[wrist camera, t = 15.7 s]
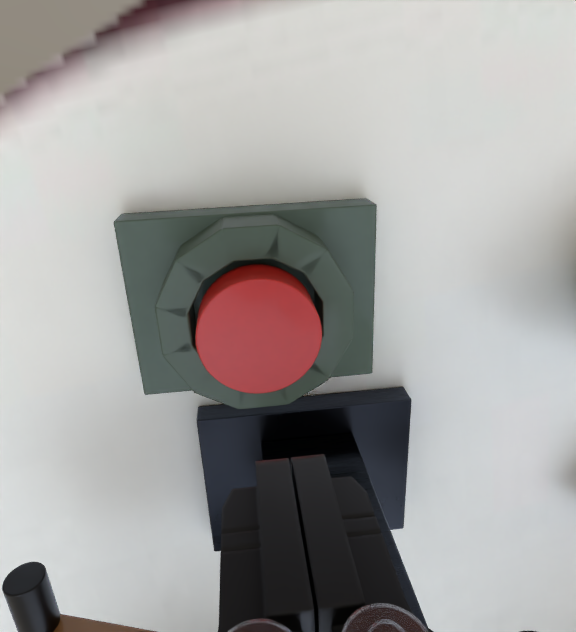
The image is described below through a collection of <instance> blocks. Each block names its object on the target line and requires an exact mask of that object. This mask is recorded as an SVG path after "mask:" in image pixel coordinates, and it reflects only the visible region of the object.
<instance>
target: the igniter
mask: <svg viewBox="0 0 576 632" xmlns="http://www.w3.org/2000/svg"><path fill="white" fill-rule="evenodd" d="M376 207H377V206H376V204H374V203H373V202H371V201H370V200H368V199H350V200H334V201H318V202H302V203H286V204H271V205H255V206H239V207H223V208H207V209H191V210H175V211H160V212H144V213H128V214H121V215H120V216H119V217H118V218H117V219H116V220H115V221H114V227H115V232H116V238H117V243H118V249H119V254H120V260H121V266H122V271H123V277H124V282H125V288H126V294H127V299H128V305H129V310H130V316H131V321H132V327H133V333H134V338H135V344H136V349H137V355H138V360H139V366H140V372H141V377H142V383H143V388H144V394H145V395H148V394H159V393H169V392H180V391H191V390H192V391H194V393H197V394H199V395H202V396H205V397H207V398H210V399H213V400H215V401H218V402H221V403H223V404H226V405H229V406H231V407H234V408H237V409H248V408H258V407H268V406H278V405H287V404H290V403H291V402H293V401H295V400H296V399H298V398H300V397H301V396H303V395H304V394H306V393H308V392H309V391H311V390H313V389H314V388H316V387H318V386H319V385H321V384H322V383H324V382H326V381H327V380H328V378H330V377H339V376H349V375H360V374H370V373H372V361H373V322H374V284H375V245H376ZM252 264H263V265H270V266H274V267H277V268H280V269H283V270H285V271H287V272H288V273H290V274H292V275H293V276H294V277H296V278H297V279H298V280H299V281H300V282H301V283H302V284H303V286H304V287H305V288H306V289H307V291H308V293H309V295H310V297H311V299H312V301H313V304H314V306H315V308H316V310H317V313H318V315H319V318H320V321H321V326H322V342H321V347H320V350H319V353H318V356H317V358H316V360H315V362H314V363H313V365H312V366H311V368H310V369H309V370H308V371H307V372H306V373H305V374H304V375H303V376H302V377H301V378H300V379H299V380H297V381H296V382H294V383H293V384H291V385H289V386H287V387H285V388H283V389H280V390H277V391H273V392H269V393H257V394H255V393H245V392H240V391H237V390H234V389H231V388H229V387H227V386H225V385H223V384H222V383H220V382H219V381H218V380H216V379H215V378H214V377H213V376H212V375H211V374H210V373H209V372H208V371H207V370H206V368H205V367H204V365H203V364H202V362H201V360H200V358H199V355H198V352H197V348H196V339H195V335H196V326H197V319H198V312H199V308H200V304H201V301H202V299H203V296H204V295H205V293H206V291H207V290H208V288H209V287H210V286H211V285H212V284H213V283H214V282H215V281H216V280H217V279H218V278H219V277H221V276H222V275H223V274H225V273H227V272H228V271H230V270H233V269H235V268H238V267H241V266H245V265H252Z"/></svg>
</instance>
